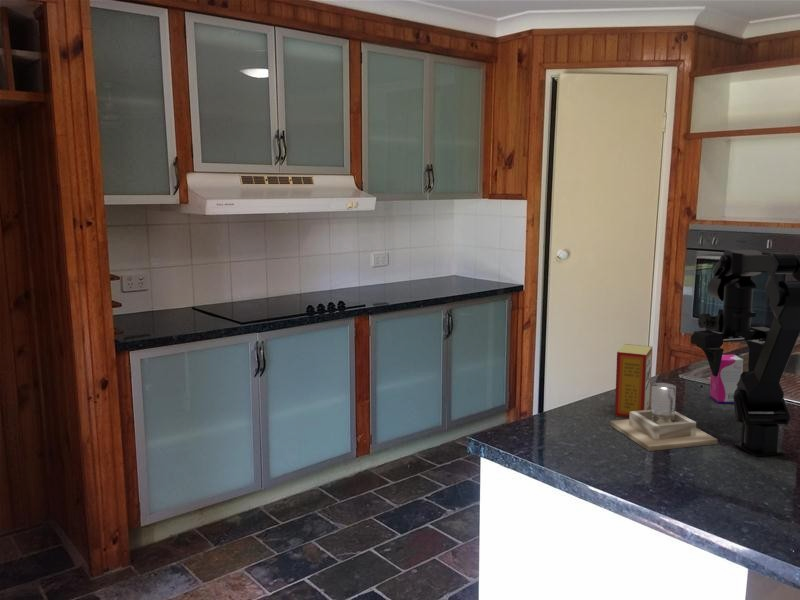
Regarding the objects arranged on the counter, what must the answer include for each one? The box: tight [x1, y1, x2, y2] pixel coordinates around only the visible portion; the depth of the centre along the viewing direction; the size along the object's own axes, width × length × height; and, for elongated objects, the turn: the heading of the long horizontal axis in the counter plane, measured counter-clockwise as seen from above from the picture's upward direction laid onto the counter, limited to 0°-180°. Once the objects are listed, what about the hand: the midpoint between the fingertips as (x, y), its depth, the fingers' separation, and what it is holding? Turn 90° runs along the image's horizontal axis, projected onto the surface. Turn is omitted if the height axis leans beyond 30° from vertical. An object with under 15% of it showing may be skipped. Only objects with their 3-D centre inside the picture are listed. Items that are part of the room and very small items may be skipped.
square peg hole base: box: [609, 409, 719, 452], centre depth 146 cm, size 16×16×4 cm
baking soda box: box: [614, 343, 653, 418], centre depth 160 cm, size 10×6×16 cm
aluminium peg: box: [649, 382, 677, 424], centre depth 146 cm, size 5×5×10 cm
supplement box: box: [709, 354, 744, 405], centre depth 168 cm, size 6×6×12 cm
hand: (733, 374), depth 149 cm, fingers open, 9 cm apart
